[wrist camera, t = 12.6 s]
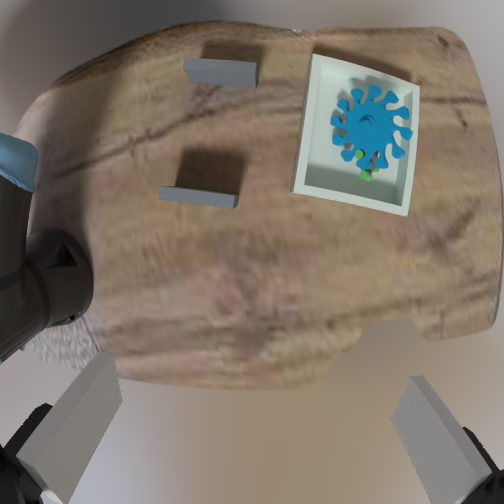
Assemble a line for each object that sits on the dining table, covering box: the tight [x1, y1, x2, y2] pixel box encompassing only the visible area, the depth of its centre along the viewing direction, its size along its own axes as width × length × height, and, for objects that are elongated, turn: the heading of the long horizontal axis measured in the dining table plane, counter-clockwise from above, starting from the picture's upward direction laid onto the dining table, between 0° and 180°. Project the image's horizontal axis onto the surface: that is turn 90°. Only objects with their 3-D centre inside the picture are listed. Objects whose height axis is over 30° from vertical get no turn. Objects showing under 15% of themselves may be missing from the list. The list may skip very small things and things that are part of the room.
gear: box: [330, 85, 413, 181], centre depth 29 cm, size 11×6×10 cm
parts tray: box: [290, 54, 419, 216], centre depth 30 cm, size 14×17×4 cm
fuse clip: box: [159, 58, 258, 209], centre depth 30 cm, size 8×16×5 cm, turn 171°
